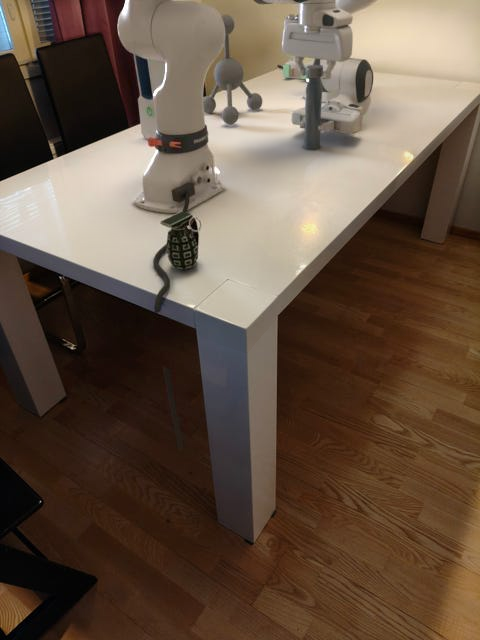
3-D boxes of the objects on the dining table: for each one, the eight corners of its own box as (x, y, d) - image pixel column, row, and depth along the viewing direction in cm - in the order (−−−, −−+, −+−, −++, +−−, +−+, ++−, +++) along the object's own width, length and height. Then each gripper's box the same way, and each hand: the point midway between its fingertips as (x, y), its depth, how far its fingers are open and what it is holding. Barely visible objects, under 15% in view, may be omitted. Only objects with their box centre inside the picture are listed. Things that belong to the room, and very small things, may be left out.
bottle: (322, 148, 139) (326, 69, 127) (308, 150, 138) (311, 72, 125) (314, 143, 142) (318, 67, 130) (301, 146, 141) (303, 69, 129)
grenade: (182, 278, 88) (175, 228, 82) (162, 268, 91) (153, 219, 85) (208, 263, 92) (203, 214, 85) (187, 253, 95) (181, 205, 89)
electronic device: (141, 137, 154) (123, 28, 136) (159, 131, 158) (144, 24, 140) (166, 145, 147) (151, 30, 129) (185, 138, 151) (172, 26, 133)
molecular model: (282, 115, 166) (282, 11, 148) (228, 129, 157) (221, 20, 138) (243, 102, 182) (239, 7, 163) (192, 114, 173) (181, 15, 154)
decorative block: (304, 51, 222) (344, 54, 212) (304, 67, 226) (343, 70, 216) (274, 62, 206) (316, 65, 196) (274, 78, 210) (315, 83, 200)
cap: (313, 78, 126) (313, 69, 125) (303, 76, 129) (303, 66, 128) (326, 76, 128) (326, 66, 126) (315, 73, 131) (316, 64, 129)
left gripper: (276, 15, 125) (276, 74, 133) (342, 19, 113) (338, 84, 121) (292, 12, 128) (291, 70, 136) (358, 16, 116) (353, 79, 125)
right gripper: (306, 99, 148) (280, 110, 139) (368, 107, 137) (344, 120, 129) (305, 120, 151) (280, 133, 143) (365, 130, 141) (342, 144, 133)
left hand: (314, 77), depth 129 cm, fingers open, 7 cm apart
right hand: (310, 127), depth 136 cm, fingers closed on bottle, 4 cm apart
